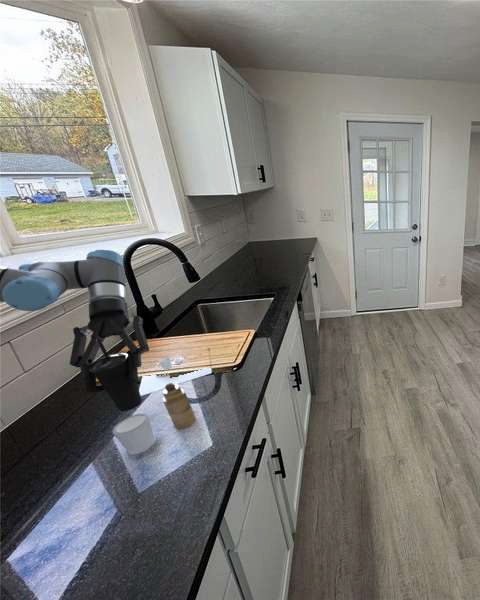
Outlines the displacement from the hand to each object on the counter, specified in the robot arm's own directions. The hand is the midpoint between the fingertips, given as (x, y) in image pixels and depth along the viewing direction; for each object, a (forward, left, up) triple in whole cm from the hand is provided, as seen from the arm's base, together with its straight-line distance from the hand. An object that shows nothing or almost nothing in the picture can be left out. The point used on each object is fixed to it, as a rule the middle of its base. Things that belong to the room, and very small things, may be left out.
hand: (113, 385), depth 76 cm
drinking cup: (-3, +1, -9) cm, 9 cm away
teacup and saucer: (-23, +15, -14) cm, 31 cm away
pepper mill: (+8, +9, -14) cm, 19 cm away
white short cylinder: (+8, 0, -14) cm, 16 cm away
